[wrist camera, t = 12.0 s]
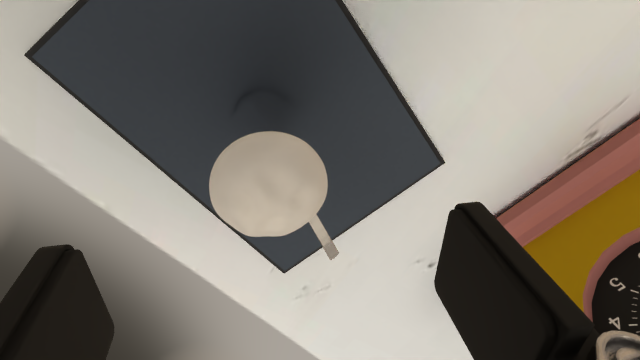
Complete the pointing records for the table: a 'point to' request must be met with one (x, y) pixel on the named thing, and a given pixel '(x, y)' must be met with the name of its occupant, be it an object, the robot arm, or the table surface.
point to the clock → (590, 231)
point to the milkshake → (269, 172)
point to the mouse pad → (243, 95)
